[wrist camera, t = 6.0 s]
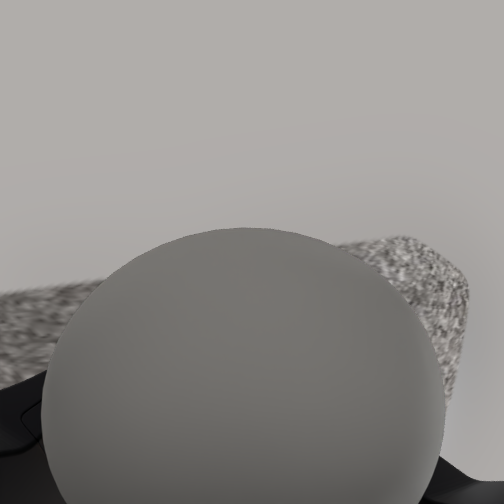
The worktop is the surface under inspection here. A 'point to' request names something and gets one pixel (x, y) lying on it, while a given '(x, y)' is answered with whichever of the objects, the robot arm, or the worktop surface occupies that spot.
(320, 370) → the green tumbler
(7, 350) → the worktop surface
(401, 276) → the worktop surface
